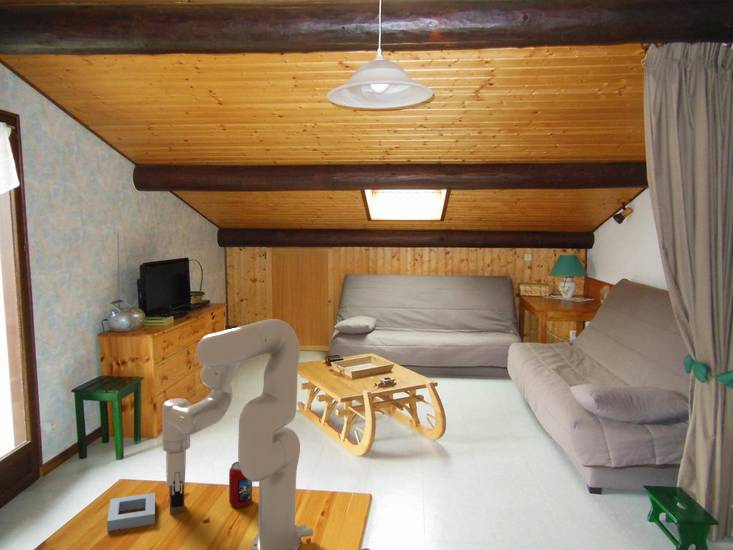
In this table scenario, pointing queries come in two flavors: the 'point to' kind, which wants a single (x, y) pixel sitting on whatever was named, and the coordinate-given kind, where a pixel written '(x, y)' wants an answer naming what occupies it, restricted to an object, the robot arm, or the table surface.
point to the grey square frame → (133, 518)
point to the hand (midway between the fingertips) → (176, 501)
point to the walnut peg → (172, 510)
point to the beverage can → (239, 487)
